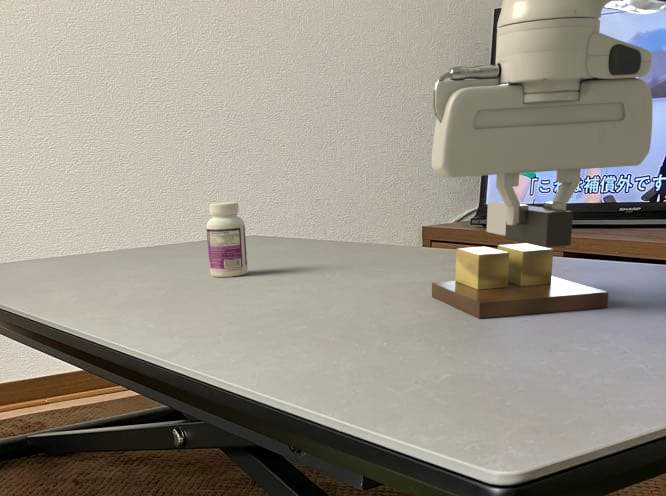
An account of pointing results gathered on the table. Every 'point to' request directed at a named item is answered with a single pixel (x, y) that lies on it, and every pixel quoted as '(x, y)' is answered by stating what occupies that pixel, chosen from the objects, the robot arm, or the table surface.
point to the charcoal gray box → (532, 225)
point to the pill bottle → (226, 241)
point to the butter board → (513, 283)
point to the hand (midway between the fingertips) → (535, 223)
